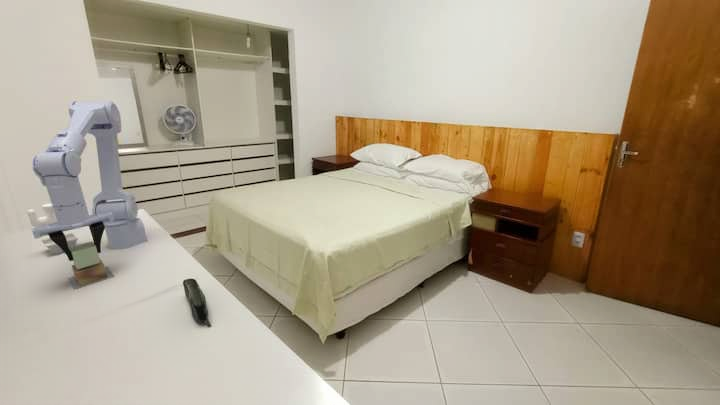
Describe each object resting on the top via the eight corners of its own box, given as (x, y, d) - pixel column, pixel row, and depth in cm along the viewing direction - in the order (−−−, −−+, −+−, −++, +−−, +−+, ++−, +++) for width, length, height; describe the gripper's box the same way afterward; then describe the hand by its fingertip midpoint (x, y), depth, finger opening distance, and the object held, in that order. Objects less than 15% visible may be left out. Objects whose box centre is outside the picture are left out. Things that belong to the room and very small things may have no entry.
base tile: (108, 271, 85) (107, 266, 85) (116, 281, 80) (115, 276, 80) (69, 283, 80) (68, 278, 79) (75, 295, 75) (73, 289, 74)
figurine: (85, 247, 99) (72, 202, 95) (44, 259, 92) (28, 210, 88) (79, 241, 104) (66, 198, 99) (39, 252, 97) (23, 206, 92)
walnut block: (102, 269, 83) (99, 257, 82) (107, 276, 80) (104, 264, 79) (75, 277, 79) (71, 265, 78) (79, 285, 76) (75, 272, 75)
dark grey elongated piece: (179, 279, 72) (194, 309, 61) (194, 274, 74) (210, 303, 63) (184, 298, 74) (198, 331, 62) (198, 293, 76) (214, 324, 64)
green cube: (96, 257, 81) (92, 241, 80) (100, 262, 79) (95, 246, 77) (73, 263, 78) (68, 247, 77) (77, 269, 75) (71, 252, 74)
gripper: (26, 215, 66) (46, 272, 70) (111, 199, 76) (124, 250, 80) (23, 208, 70) (43, 262, 74) (104, 194, 81) (117, 242, 85)
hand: (85, 255), depth 78 cm, fingers open, 5 cm apart
